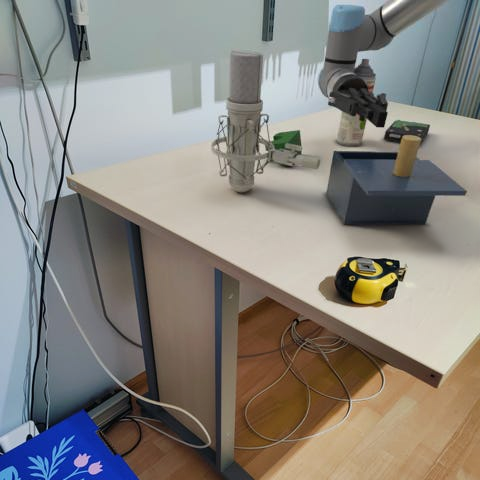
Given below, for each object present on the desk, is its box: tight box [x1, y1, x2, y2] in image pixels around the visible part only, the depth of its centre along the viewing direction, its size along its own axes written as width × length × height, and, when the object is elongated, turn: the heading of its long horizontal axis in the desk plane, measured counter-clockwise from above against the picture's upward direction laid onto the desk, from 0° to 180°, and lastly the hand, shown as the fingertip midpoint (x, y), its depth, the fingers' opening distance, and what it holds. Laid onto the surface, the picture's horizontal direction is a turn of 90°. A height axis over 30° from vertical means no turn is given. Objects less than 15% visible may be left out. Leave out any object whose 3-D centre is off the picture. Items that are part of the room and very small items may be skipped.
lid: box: [343, 135, 468, 197], centre depth 71 cm, size 16×14×7 cm
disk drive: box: [383, 119, 431, 146], centre depth 123 cm, size 10×3×15 cm
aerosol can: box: [336, 58, 377, 147], centre depth 112 cm, size 7×7×20 cm
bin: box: [325, 150, 436, 226], centre depth 82 cm, size 16×14×9 cm
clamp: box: [264, 129, 303, 167], centre depth 103 cm, size 12×6×9 cm, turn 153°
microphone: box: [210, 49, 321, 193], centre depth 80 cm, size 12×22×25 cm, turn 61°
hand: (382, 119), depth 80 cm, fingers closed
